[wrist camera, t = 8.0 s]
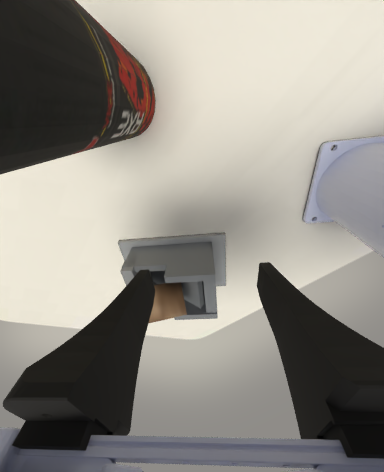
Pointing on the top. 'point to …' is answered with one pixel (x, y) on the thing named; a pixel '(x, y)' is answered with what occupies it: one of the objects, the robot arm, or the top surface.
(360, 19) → the top surface
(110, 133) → the deodorant
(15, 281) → the top surface
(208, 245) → the socket
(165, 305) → the dowel
